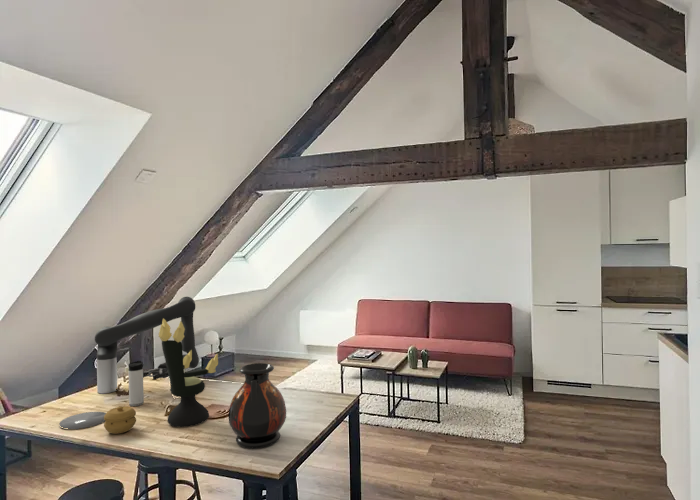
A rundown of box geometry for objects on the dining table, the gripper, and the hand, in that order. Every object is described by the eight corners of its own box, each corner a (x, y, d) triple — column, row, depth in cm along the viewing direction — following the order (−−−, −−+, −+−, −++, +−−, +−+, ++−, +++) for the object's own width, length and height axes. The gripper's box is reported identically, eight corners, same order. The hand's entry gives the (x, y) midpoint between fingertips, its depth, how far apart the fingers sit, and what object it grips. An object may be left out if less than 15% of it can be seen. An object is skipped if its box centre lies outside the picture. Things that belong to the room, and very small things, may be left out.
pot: (97, 436, 181) (96, 411, 181) (116, 425, 192) (116, 401, 192) (124, 437, 179) (124, 412, 179) (142, 426, 191) (141, 402, 191)
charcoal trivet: (59, 419, 200) (59, 417, 200) (106, 411, 209) (106, 408, 209) (59, 433, 185) (59, 430, 185) (109, 423, 194) (109, 421, 194)
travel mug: (146, 401, 221) (145, 360, 221) (139, 406, 214) (138, 364, 214) (134, 401, 222) (133, 360, 222) (126, 406, 215) (125, 363, 215)
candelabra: (221, 417, 198) (219, 313, 198) (178, 436, 179) (176, 321, 179) (191, 410, 208) (189, 311, 207) (147, 427, 189) (145, 318, 188)
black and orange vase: (234, 430, 184) (233, 360, 184) (288, 428, 185) (287, 359, 185) (223, 454, 162) (221, 375, 162) (284, 451, 164) (283, 373, 164)
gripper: (157, 360, 242) (134, 368, 226) (180, 362, 238) (158, 370, 222) (157, 375, 242) (134, 383, 227) (180, 376, 238) (158, 385, 222)
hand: (146, 377), depth 224 cm, fingers open, 8 cm apart
